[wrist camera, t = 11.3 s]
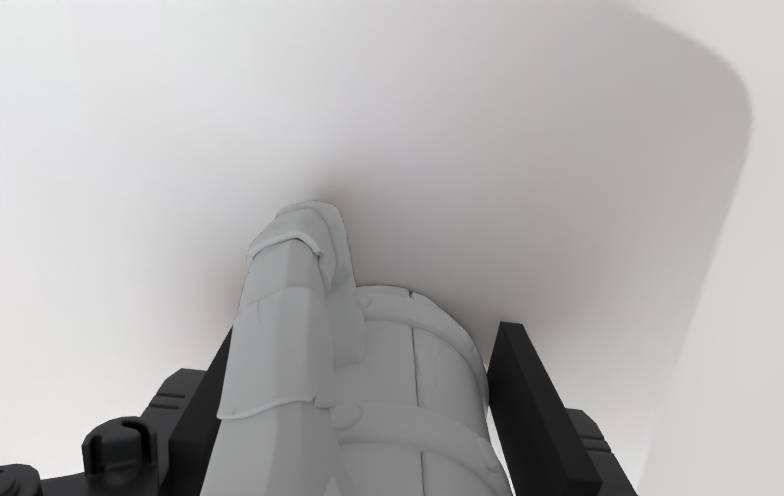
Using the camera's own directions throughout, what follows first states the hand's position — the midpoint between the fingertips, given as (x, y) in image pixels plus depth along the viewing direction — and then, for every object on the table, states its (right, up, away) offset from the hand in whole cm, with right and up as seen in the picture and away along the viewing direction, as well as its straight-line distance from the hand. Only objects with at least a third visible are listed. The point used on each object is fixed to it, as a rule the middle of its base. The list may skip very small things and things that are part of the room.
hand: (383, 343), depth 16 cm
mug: (-1, +1, +1) cm, 1 cm away
